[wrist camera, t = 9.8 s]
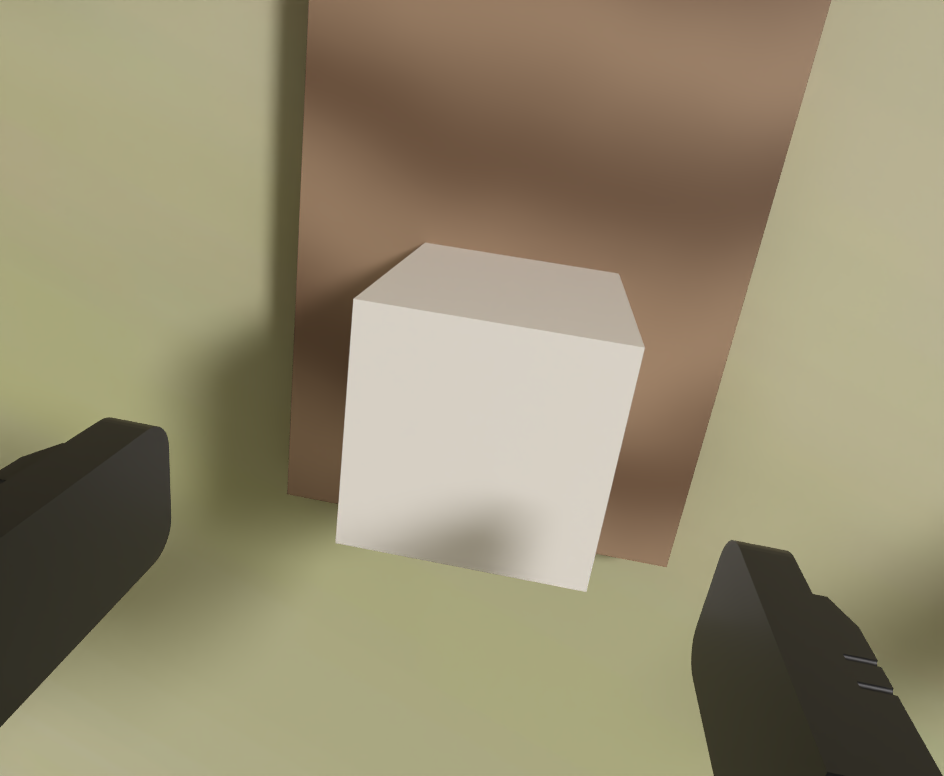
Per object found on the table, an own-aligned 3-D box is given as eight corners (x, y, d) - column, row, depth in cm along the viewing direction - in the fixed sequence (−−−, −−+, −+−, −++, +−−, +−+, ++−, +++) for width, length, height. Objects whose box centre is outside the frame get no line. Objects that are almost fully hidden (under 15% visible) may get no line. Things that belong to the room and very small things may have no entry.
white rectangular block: (424, 242, 18) (353, 298, 12) (618, 273, 18) (644, 347, 12) (406, 418, 20) (335, 543, 14) (580, 449, 20) (586, 591, 14)
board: (353, -465, 15) (331, -528, 13) (929, -416, 14) (969, -477, 12) (304, 472, 23) (287, 494, 22) (660, 539, 22) (666, 566, 21)
